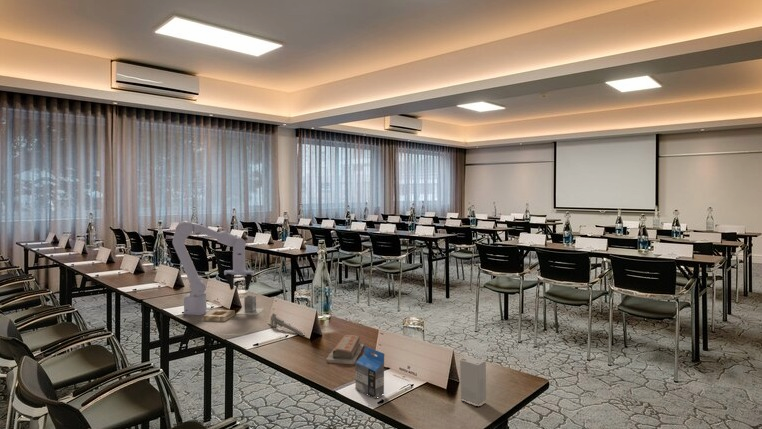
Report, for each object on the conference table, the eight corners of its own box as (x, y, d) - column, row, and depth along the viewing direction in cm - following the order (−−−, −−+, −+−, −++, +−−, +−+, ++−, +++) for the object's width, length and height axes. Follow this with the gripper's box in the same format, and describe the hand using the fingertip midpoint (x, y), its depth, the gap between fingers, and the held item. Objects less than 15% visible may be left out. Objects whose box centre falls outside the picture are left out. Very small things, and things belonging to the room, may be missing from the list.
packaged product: (338, 332, 168) (364, 334, 167) (338, 345, 169) (364, 346, 167) (325, 350, 150) (354, 351, 149) (325, 363, 151) (354, 365, 149)
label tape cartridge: (354, 389, 131) (354, 348, 130) (364, 385, 134) (364, 345, 133) (375, 399, 125) (375, 357, 124) (384, 395, 128) (385, 353, 127)
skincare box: (486, 403, 123) (487, 360, 122) (478, 409, 120) (479, 365, 119) (467, 395, 127) (468, 354, 126) (459, 401, 124) (459, 359, 123)
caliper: (270, 327, 188) (270, 313, 188) (272, 326, 189) (272, 312, 189) (304, 337, 177) (304, 321, 176) (306, 336, 178) (306, 321, 177)
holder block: (203, 321, 195) (203, 315, 195) (214, 314, 205) (214, 309, 205) (225, 322, 194) (224, 316, 194) (235, 315, 204) (234, 310, 204)
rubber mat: (235, 315, 205) (235, 313, 205) (244, 309, 215) (244, 307, 215) (256, 315, 204) (256, 314, 204) (264, 309, 214) (264, 308, 214)
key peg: (244, 312, 208) (244, 297, 207) (248, 309, 212) (247, 295, 211) (252, 312, 207) (252, 297, 207) (256, 310, 211) (255, 295, 211)
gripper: (221, 263, 212) (221, 291, 212) (250, 263, 210) (250, 291, 211) (227, 260, 219) (227, 287, 219) (255, 261, 217) (256, 288, 218)
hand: (239, 289), depth 216 cm, fingers open, 7 cm apart
